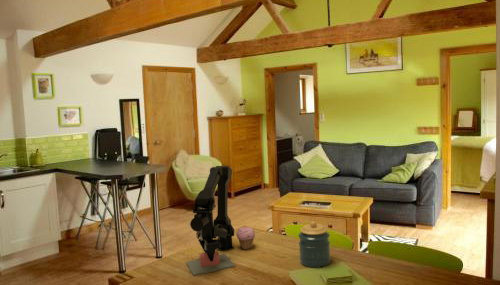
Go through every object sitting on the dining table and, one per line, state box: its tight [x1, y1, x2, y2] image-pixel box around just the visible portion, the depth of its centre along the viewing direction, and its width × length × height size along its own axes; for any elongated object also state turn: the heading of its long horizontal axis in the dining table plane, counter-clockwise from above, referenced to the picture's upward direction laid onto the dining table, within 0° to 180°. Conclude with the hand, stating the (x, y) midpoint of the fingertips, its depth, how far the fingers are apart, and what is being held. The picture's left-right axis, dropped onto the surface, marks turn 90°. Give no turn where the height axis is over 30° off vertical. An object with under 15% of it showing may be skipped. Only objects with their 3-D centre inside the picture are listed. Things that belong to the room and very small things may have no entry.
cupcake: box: [236, 226, 256, 250], centre depth 194 cm, size 9×9×10 cm
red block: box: [199, 250, 220, 267], centre depth 177 cm, size 5×8×4 cm, turn 102°
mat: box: [185, 253, 236, 277], centre depth 177 cm, size 18×14×1 cm
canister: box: [297, 220, 332, 268], centre depth 173 cm, size 13×13×18 cm
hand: (209, 258), depth 177 cm, fingers open, 6 cm apart
